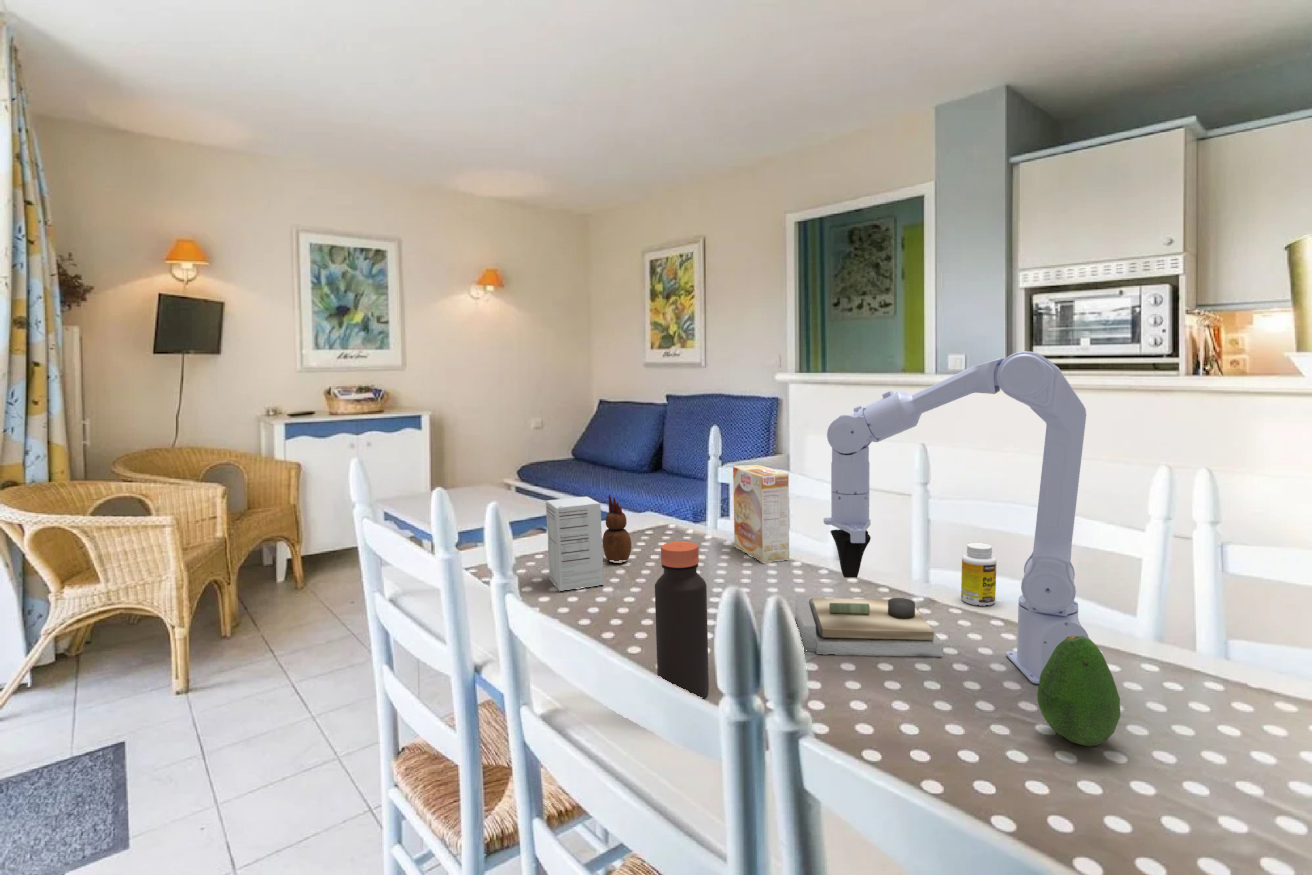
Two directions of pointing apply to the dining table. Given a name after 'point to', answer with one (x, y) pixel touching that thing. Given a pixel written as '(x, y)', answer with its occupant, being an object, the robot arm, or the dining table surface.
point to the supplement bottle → (978, 575)
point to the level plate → (869, 618)
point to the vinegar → (682, 619)
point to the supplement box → (574, 542)
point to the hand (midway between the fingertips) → (849, 576)
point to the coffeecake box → (761, 512)
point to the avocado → (1079, 693)
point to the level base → (858, 640)
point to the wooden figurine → (616, 534)
